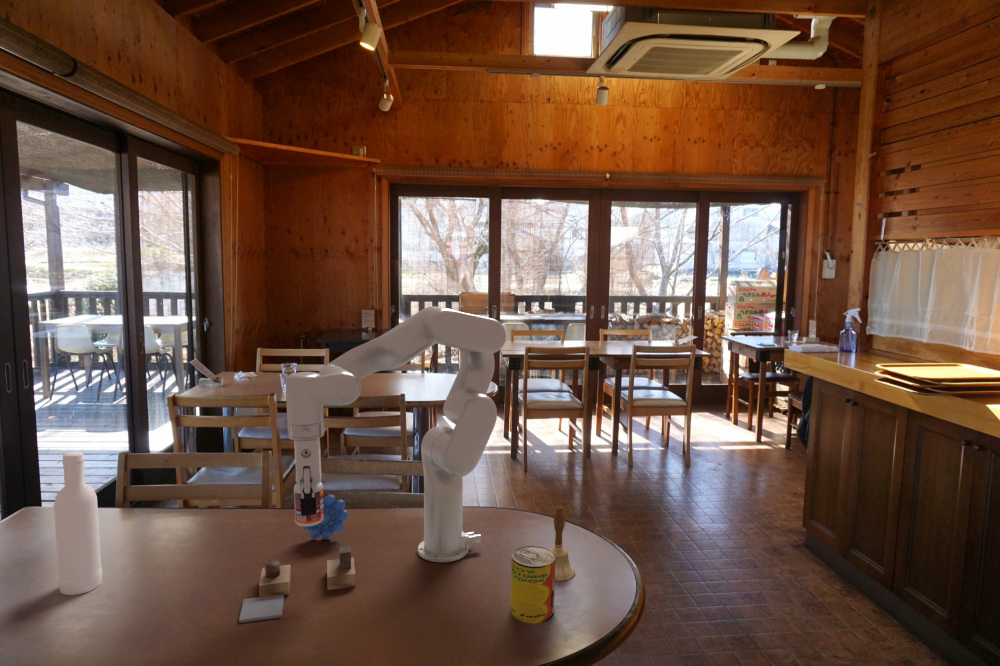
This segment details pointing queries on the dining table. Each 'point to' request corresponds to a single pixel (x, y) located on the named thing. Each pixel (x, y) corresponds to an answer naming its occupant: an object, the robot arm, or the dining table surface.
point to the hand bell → (561, 550)
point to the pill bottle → (318, 517)
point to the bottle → (77, 530)
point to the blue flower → (329, 519)
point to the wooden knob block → (279, 577)
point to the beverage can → (532, 584)
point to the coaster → (261, 608)
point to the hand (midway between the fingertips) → (309, 507)
